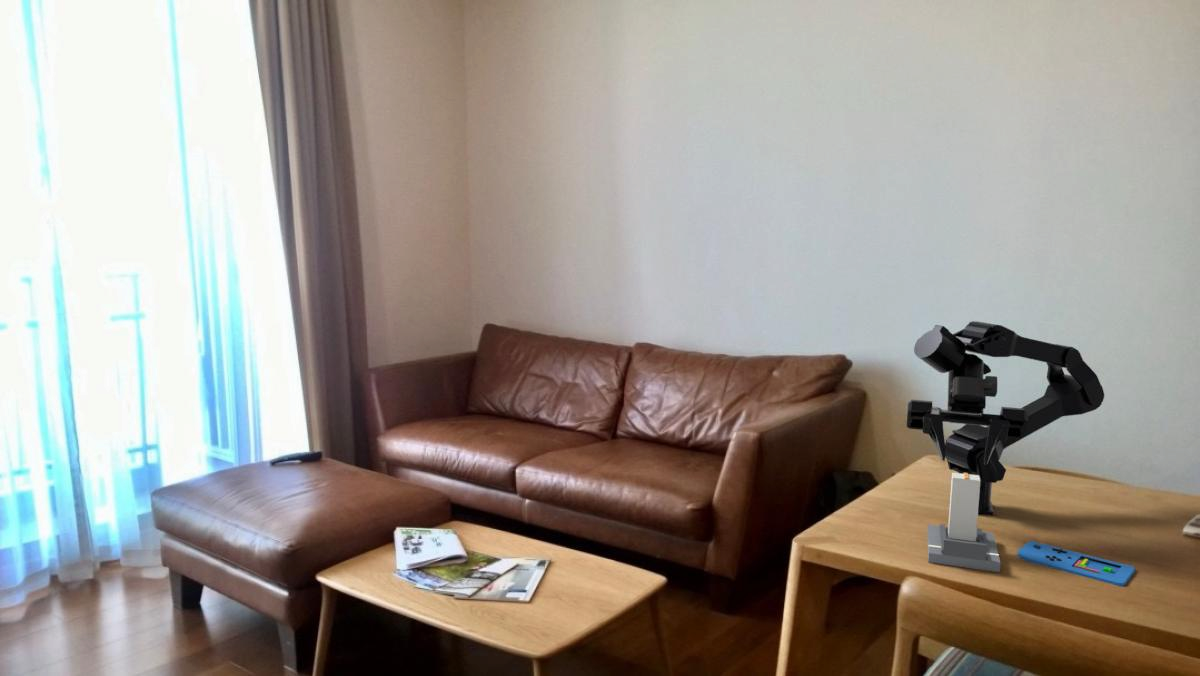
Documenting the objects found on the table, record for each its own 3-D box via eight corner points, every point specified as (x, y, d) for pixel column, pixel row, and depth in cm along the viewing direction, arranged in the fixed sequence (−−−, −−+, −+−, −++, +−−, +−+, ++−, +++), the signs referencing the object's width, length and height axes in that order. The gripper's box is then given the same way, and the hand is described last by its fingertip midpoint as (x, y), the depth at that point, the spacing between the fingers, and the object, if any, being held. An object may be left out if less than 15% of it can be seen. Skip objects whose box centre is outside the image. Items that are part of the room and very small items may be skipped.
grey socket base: (927, 533, 140) (928, 510, 140) (992, 541, 137) (994, 518, 136) (928, 562, 128) (929, 538, 128) (999, 572, 125) (1001, 547, 124)
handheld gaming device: (1030, 538, 136) (1136, 565, 126) (1029, 545, 136) (1135, 572, 126) (1013, 552, 130) (1123, 582, 120) (1012, 559, 131) (1122, 589, 120)
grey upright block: (947, 531, 136) (952, 471, 135) (974, 535, 135) (979, 474, 133) (948, 537, 133) (952, 476, 132) (975, 541, 132) (980, 479, 131)
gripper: (911, 354, 144) (906, 430, 135) (1031, 361, 138) (1034, 442, 129) (908, 390, 153) (904, 464, 144) (1021, 398, 146) (1024, 477, 137)
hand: (964, 461), depth 138 cm, fingers open, 6 cm apart
